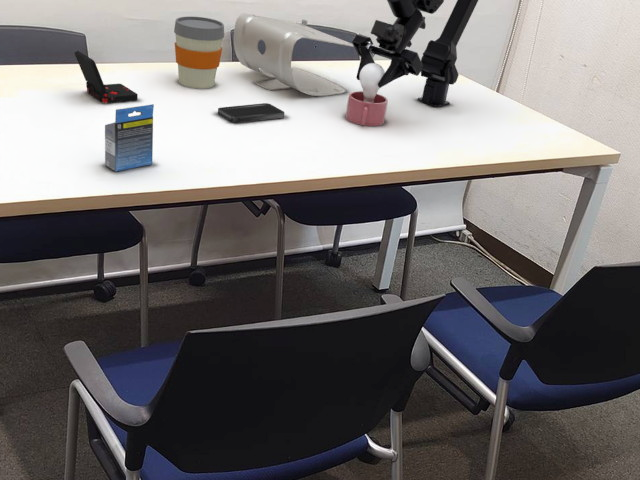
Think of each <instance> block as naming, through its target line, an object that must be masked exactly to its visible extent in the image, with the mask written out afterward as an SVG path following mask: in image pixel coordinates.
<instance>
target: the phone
mask: <svg viewBox="0 0 640 480" xmlns="http://www.w3.org/2000/svg"><path fill="white" fill-rule="evenodd" d="M217 115H218V116H221V117H223V118H224V119H225V120H227V121H229V122H231V123H233V124H238V123H239V124H240V123H249V122H257V121H258V122H259V121H266V120H276V119H283V118H285V111H284V110H282V109H280V108H278V107H277V106H275V105H273V104H272V103H268V102H267V103H265V102H264V103H262V102H261V103H255V104H254V103H253V104H243V105H233V106H223V107H218V108H217Z"/></svg>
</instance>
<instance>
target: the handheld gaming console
mask: <svg viewBox="0 0 640 480" xmlns="http://www.w3.org/2000/svg"><path fill="white" fill-rule="evenodd" d="M74 56H75V59H76V61H77V63H78V66H79V68H80V71H81V73H82V75H83V77H84V81H85V83H86V84H85V85H86V92H87V93H88V95H90V96H91V97H92V98H94V99H96V100H97V101H98V102H100V103H103V104H116V103H117V104H118V103H127V102H128V103H129V102H137V101H138V93H137V92H135V91H134V90H132V89H130V88H129V87H127V86H125V85H124V84H122V83H108V84H104V81H103V78H102V76H101V74H100V72H99V71H100V70H99V69H98V65H97V64H96V62H95V60H94V59H93V58H92V57H89V56H88V55H86V54H84V53H82V52H81V51H79V50H76V51H74Z"/></svg>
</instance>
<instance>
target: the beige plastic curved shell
mask: <svg viewBox="0 0 640 480" xmlns="http://www.w3.org/2000/svg"><path fill="white" fill-rule="evenodd" d="M301 39H305V40H306V39H307V40H312V41H317V42H323V43H329V44H335V45H341V46H346V47H351V48H354V46H353V44H352V42H349V41H346V40H343V39H341V38H338V37H335V36H334V35H331V34H328V33H326V32H323V31H320V30H318V29H315V28H312V27H311V26H308V20H307V19H302V20H301V23H300V22H297V21H296V22H295V21H291V20H284V19H280V18H279V19H278V18H272V17H269V16H267V17H266V16H262V15H256V14H251V13H242V14H240V15H239V16H238V17H237V18H236V20H235V24H234V28H233V49H234V53H235V57H236V58H237V60H238V62H240V64H241V65H242V66H244V67H246V68H248V69H249V70H252V71H254V72H256V73H258V74H260V75H263V76H265V77H269V78H271V79H263V80H262V79H261V80H256V81H255V84H256V85H257V86H259V87H261V88H263V89H266V90H269V91H277V90H286V89H294V90H296V91H297V92H301V93H303V94H304V95H307V96H313V97H327V96H333V95H340V94H344V93H346V89H345V88H344V87H342V86H340V85H338V84H336V83H335V82H332V81H330V80H328V79H325V78H323V77H321V76H319V75H317V74H313V73H311V72H308V71H305V70H302V69H299V68H296V67H292V59H293V51H294V47H295V45H296V43H297V42H298V41H299V40H301ZM260 41H263V43H264V45H265V51H264V53H261V52H260V50H259V47H258V46H259V42H260Z"/></svg>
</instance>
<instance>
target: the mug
mask: <svg viewBox="0 0 640 480" xmlns="http://www.w3.org/2000/svg"><path fill="white" fill-rule="evenodd" d="M363 99H364V95H363V90H362V91H360V90H358V91H357V90H356V91H352V92H350V93H349V94H348V97H347V105H346V110H345V119H346V120H347V121H348V122H351V123H353V124H356V125H360V126H365V127H366V126H368V127H378V126H382V125H383V124H384V123H385V120H386V115H387V109H388V103H389V99H388V98H387V97H386V96H384V95H382V94H379V93H377V94H376V96H375V98H374V103H368V102H363Z"/></svg>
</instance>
